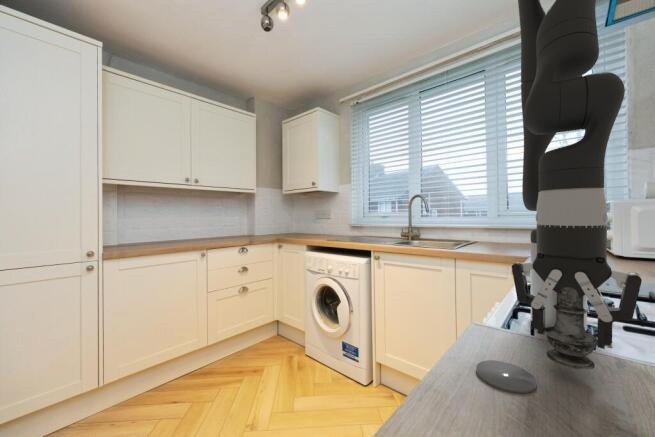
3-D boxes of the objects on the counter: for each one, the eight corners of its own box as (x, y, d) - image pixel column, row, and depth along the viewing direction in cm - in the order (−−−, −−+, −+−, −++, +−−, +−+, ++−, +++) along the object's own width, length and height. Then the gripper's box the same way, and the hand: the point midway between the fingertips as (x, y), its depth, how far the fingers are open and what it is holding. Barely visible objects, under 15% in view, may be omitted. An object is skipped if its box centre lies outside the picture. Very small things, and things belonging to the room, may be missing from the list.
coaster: (484, 359, 45) (484, 355, 45) (540, 377, 40) (540, 372, 40) (469, 377, 40) (469, 373, 40) (530, 400, 35) (530, 396, 35)
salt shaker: (609, 372, 37) (610, 282, 36) (558, 368, 38) (558, 280, 38) (579, 350, 42) (579, 272, 42) (535, 347, 44) (535, 271, 43)
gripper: (643, 221, 37) (642, 346, 38) (515, 220, 47) (515, 318, 48) (649, 224, 32) (648, 369, 32) (504, 222, 42) (504, 332, 43)
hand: (569, 338), depth 40 cm, fingers closed on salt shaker, 6 cm apart
